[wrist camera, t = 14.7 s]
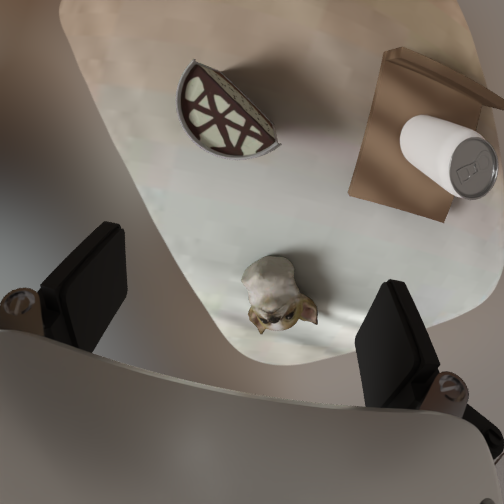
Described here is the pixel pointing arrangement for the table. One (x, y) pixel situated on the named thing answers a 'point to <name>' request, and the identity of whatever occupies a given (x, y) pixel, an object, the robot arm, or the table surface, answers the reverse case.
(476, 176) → the can
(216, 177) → the table surface
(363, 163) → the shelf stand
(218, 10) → the table surface
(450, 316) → the table surface
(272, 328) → the ceramic sculpture
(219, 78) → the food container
